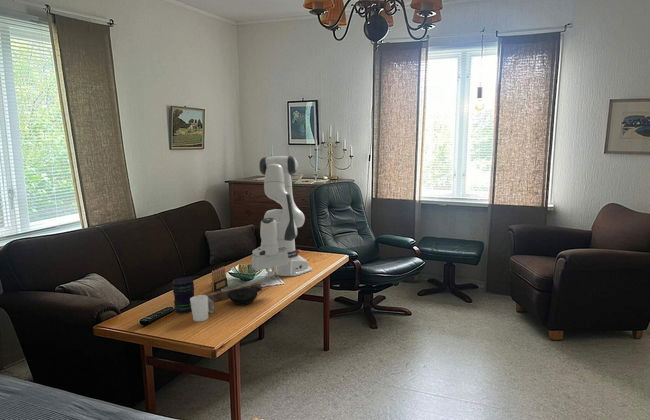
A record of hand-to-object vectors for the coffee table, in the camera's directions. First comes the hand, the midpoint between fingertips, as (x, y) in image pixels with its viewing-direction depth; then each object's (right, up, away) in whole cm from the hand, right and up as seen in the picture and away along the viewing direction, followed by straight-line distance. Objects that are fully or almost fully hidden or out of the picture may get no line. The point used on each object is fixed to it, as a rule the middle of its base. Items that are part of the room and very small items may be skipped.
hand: (271, 275), depth 230 cm
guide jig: (-17, -12, -5) cm, 21 cm away
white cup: (-29, -16, -27) cm, 43 cm away
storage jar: (-40, -15, -16) cm, 45 cm away
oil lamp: (-12, -12, -6) cm, 18 cm away
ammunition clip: (-30, -10, +14) cm, 34 cm away
